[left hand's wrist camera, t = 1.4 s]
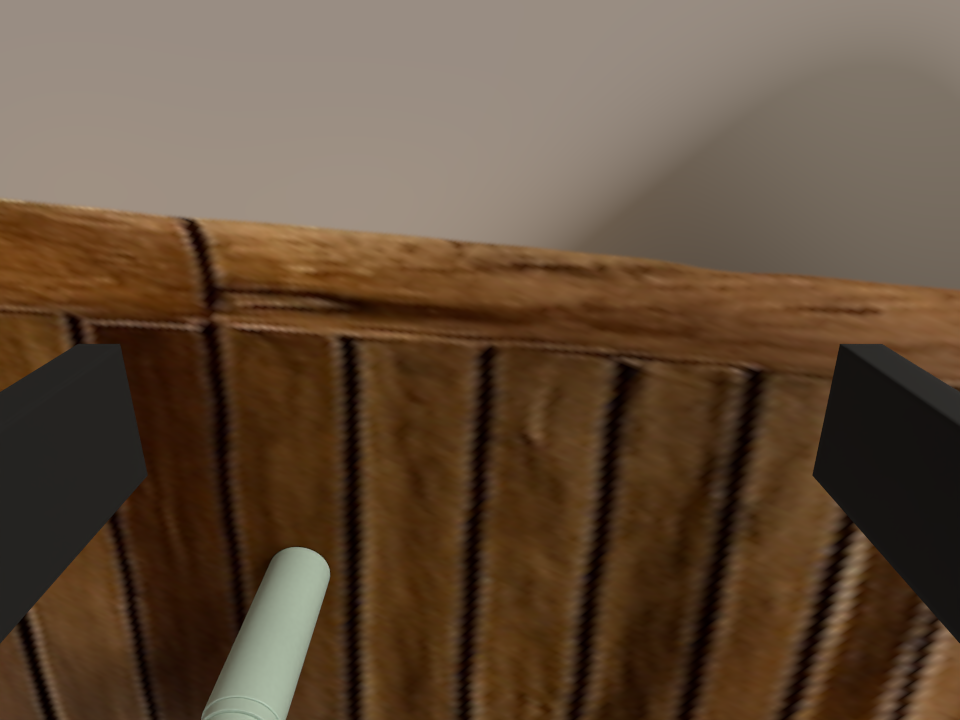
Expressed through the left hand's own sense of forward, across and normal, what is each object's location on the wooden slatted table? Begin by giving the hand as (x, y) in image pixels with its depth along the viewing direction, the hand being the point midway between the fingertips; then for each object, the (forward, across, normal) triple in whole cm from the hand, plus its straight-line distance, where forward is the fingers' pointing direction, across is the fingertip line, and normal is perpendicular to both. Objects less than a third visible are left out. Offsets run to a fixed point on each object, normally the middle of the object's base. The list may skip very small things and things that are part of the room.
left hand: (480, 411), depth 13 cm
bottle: (+28, +13, +26) cm, 41 cm away
